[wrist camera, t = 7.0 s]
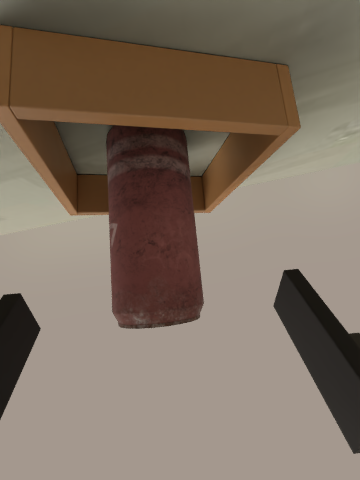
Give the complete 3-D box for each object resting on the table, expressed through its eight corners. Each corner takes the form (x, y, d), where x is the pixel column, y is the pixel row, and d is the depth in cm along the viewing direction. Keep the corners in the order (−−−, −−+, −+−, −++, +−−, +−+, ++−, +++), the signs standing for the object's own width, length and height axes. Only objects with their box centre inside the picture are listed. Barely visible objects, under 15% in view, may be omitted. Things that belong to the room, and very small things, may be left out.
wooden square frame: (69, 177, 24) (70, 215, 23) (-9, 22, 10) (-15, 104, 9) (206, 179, 27) (210, 212, 27) (288, 64, 13) (301, 127, 13)
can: (158, 164, 23) (170, 313, 20) (93, 143, 19) (98, 327, 16) (203, 131, 19) (226, 316, 16) (131, 94, 14) (146, 336, 12)
